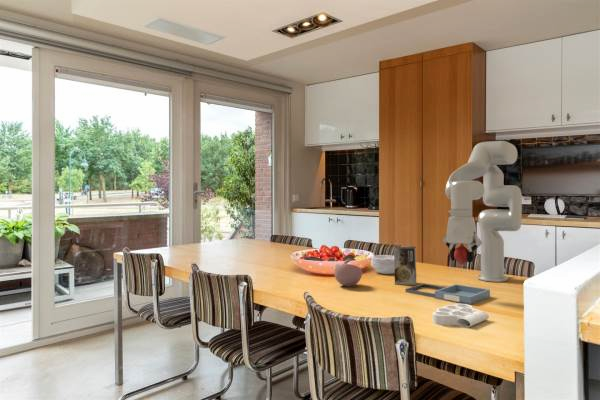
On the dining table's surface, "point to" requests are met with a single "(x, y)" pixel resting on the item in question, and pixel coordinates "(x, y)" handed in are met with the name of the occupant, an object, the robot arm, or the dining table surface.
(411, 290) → the bracket
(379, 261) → the paper bowls
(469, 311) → the white multi-well holder
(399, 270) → the coffee box
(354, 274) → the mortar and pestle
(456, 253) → the onion
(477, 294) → the tray
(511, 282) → the dining table surface
